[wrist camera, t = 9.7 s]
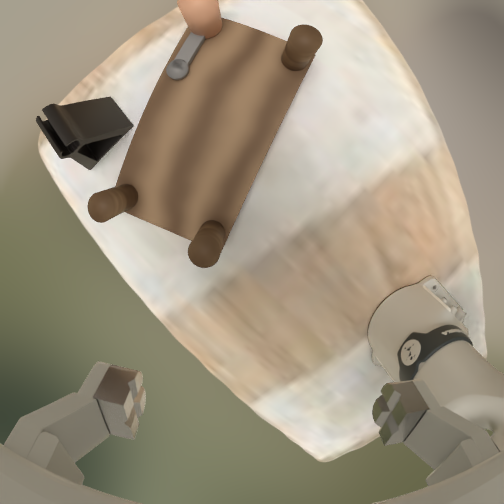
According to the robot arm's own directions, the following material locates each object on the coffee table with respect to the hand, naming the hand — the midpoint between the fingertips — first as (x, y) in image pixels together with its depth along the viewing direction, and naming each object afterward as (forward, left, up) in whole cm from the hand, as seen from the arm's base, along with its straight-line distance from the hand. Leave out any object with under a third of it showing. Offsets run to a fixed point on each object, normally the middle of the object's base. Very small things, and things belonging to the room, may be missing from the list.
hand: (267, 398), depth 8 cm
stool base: (+9, -8, -31) cm, 33 cm away
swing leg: (+15, -17, -28) cm, 36 cm away
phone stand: (+24, -2, -31) cm, 40 cm away
